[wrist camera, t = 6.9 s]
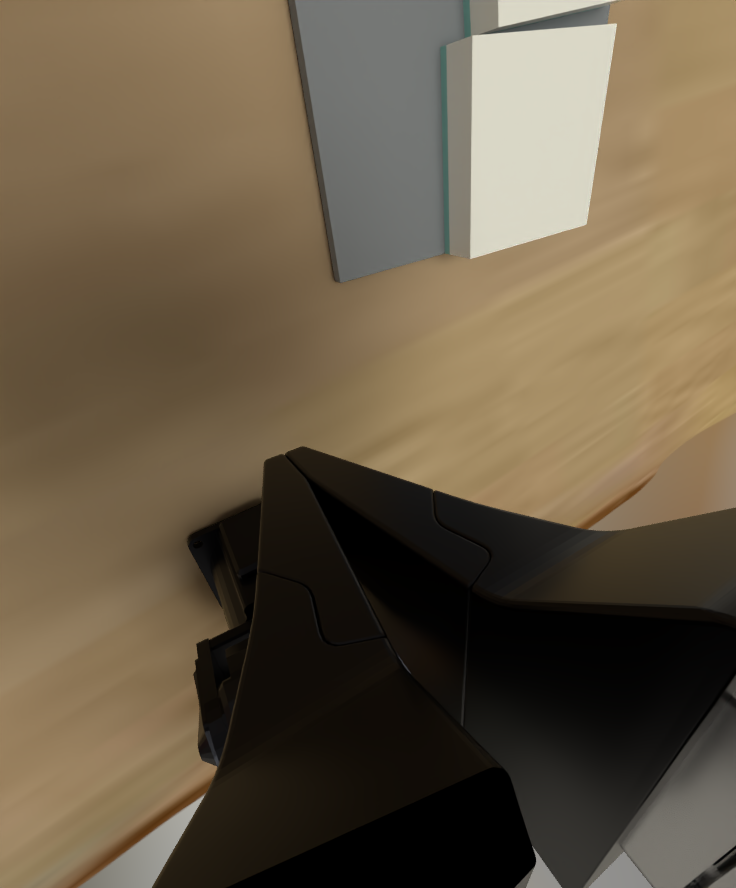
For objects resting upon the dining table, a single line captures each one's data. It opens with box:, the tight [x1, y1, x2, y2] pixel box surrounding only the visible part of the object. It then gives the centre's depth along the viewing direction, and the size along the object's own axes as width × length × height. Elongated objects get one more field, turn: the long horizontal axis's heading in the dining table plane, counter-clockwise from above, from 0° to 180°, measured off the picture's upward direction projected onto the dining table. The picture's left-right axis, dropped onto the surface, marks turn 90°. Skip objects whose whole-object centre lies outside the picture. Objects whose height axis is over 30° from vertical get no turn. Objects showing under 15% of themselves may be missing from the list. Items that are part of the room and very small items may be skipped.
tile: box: [440, 24, 617, 259], centre depth 21 cm, size 8×2×8 cm
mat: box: [288, 0, 610, 283], centre depth 19 cm, size 16×16×1 cm
